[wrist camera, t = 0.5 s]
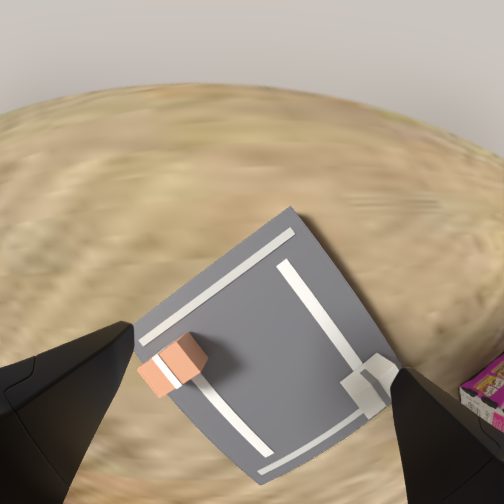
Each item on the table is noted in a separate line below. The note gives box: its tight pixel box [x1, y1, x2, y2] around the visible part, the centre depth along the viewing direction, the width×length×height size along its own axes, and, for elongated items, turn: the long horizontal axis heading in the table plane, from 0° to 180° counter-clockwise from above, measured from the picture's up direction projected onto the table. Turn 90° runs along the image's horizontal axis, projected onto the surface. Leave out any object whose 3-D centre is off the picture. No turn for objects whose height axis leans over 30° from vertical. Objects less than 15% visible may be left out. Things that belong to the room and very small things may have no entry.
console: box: [133, 206, 403, 485], centre depth 20 cm, size 18×16×2 cm
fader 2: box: [340, 353, 399, 419], centre depth 17 cm, size 2×4×3 cm
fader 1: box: [137, 332, 209, 398], centre depth 18 cm, size 2×4×3 cm
